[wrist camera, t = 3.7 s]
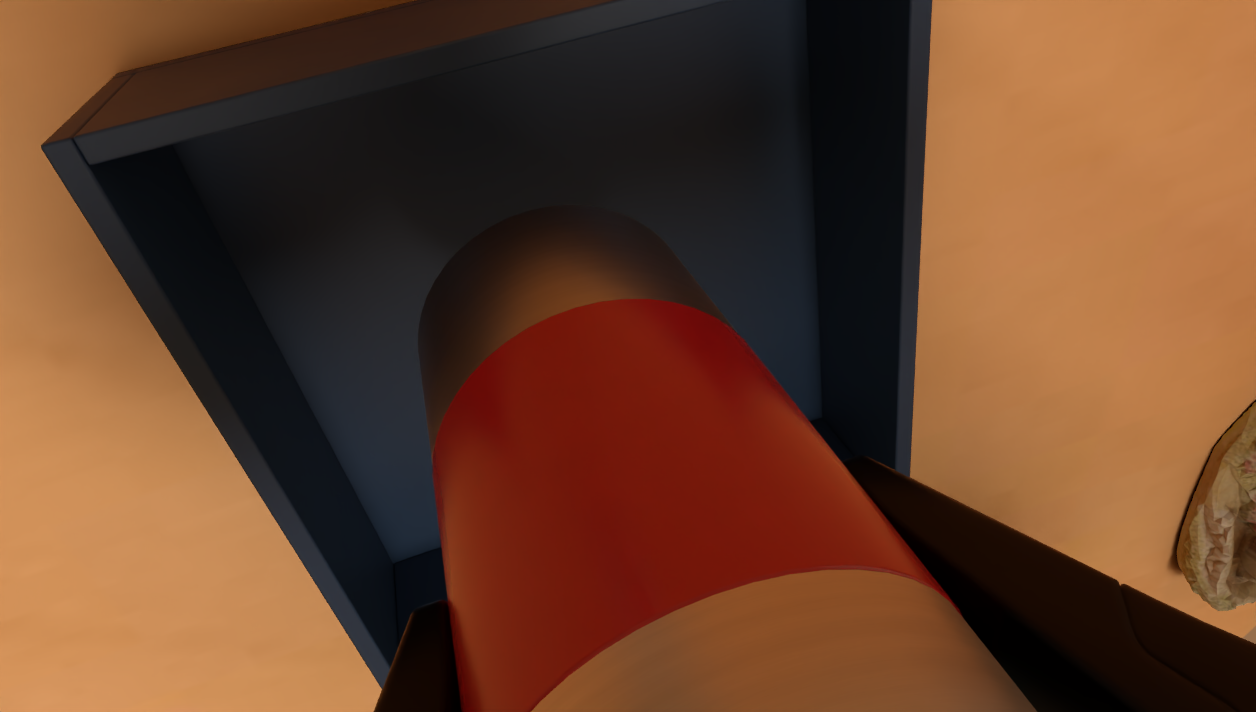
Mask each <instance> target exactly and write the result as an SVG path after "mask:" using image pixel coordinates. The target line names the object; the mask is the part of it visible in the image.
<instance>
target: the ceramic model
mask: <svg viewBox="0 0 1256 712" xmlns="http://www.w3.org/2000/svg"><path fill="white" fill-rule="evenodd" d="M1177 561H1178V565H1179V567H1180V569H1181V570H1182V572H1183V574H1184V576H1185V578H1186V580H1187V582H1188V583H1189V584H1190V586H1191V588H1192V591H1193V592H1195V593H1197V594H1199V595H1200V596H1201V598H1202V599H1203V600H1204V601H1206V602H1208V603H1209V604H1210V605H1211V607H1213V608H1214V609H1216V610H1218V611H1228V610H1232V609H1236V606H1240V605H1245V604H1247V603H1254V602H1255V601H1256V402H1255V403H1254V404H1252V407H1250V408H1249V409H1248V411H1247V412H1245V413H1244V414H1243V416H1242V417H1241V418H1239V419H1238V420H1237V421H1236V422H1235V423H1234V424H1233V427H1232V428H1230V429H1229V430H1228V431H1227V432H1226V433H1225V434H1224V435H1223V436H1222V439H1221V440H1220V441H1219V442H1218V443H1217V444H1216V446H1215V447H1214V449H1213V452H1212V454H1211V456H1210V459H1209V461H1208V463H1207V465H1206V467H1205V470H1204V472H1203V476H1202V477H1201V479H1200V482H1199V484H1198V487H1197V489H1196V491H1195V493H1194V496H1193V499H1192V502H1191V503H1190V507H1189V509H1188V512H1187V515H1186V519H1185V521H1184V525H1183V526H1182V530H1181V534H1180V538H1179V543H1178V547H1177Z"/></svg>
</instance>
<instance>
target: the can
mask: <svg viewBox="0 0 1256 712" xmlns="http://www.w3.org/2000/svg"><path fill="white" fill-rule="evenodd" d="M418 354H419V362H420V370H421V378H422V386H423V394H424V402H425V410H426V418H427V425H428V433H429V441H430V449H431V457H432V465H433V467H432V477H433V485H434V493H435V501H436V509H437V517H438V525H439V533H440V541H441V549H442V557H443V565H444V573H445V581H446V589H447V598H448V606H449V614H450V622H451V630H452V638H453V646H454V654H455V662H456V670H457V678H458V686H459V694H460V702H461V710H462V712H1037V711H1036V710H1035V708H1034V707H1033V706H1032V705H1031V703H1030V702H1029V701H1028V699H1027V698H1026V697H1025V696H1024V694H1023V693H1022V692H1021V691H1020V689H1019V688H1018V687H1017V686H1016V684H1015V683H1014V682H1013V681H1012V679H1011V678H1010V677H1009V675H1008V674H1007V673H1006V672H1005V670H1004V669H1003V668H1002V667H1001V665H1000V664H999V663H998V662H997V660H996V659H995V658H994V657H993V655H992V654H991V653H990V651H989V650H988V649H987V648H986V646H985V645H984V644H983V643H982V641H981V640H980V639H979V638H978V636H977V635H976V634H975V633H974V631H973V630H972V629H971V627H970V626H969V625H968V624H967V622H966V621H965V620H964V619H963V617H962V614H961V612H960V610H959V609H958V608H957V606H956V605H955V604H954V603H953V601H952V600H951V599H950V598H949V596H948V595H947V594H946V593H945V591H944V590H943V589H942V588H941V586H940V585H939V584H938V583H937V581H936V580H935V579H934V578H933V576H932V575H931V574H930V573H929V571H928V570H927V569H926V567H925V566H924V565H923V564H922V562H921V561H920V560H919V559H918V557H917V556H916V555H915V554H914V552H913V551H912V550H911V549H910V547H909V546H908V545H907V544H906V542H905V541H904V540H903V539H902V537H901V536H900V535H899V534H898V532H897V531H896V530H895V528H894V527H893V526H892V525H891V523H890V522H889V521H888V520H887V518H886V517H885V516H884V515H883V513H882V512H881V511H880V510H879V508H878V507H877V506H876V505H875V503H874V502H873V501H872V500H871V498H870V497H869V496H868V495H867V493H866V492H865V491H864V489H863V488H862V487H861V486H860V484H859V483H858V482H857V481H856V479H855V478H854V477H853V476H852V474H851V473H850V472H849V471H848V469H847V468H846V467H845V466H844V464H843V463H842V462H841V461H840V459H839V458H838V457H837V456H836V454H835V453H834V452H833V451H832V449H831V448H830V447H829V445H828V444H827V443H826V442H825V440H824V439H823V438H822V437H821V435H820V434H819V433H818V432H817V430H816V429H815V428H814V427H813V425H812V424H811V423H810V422H809V420H808V419H807V418H806V417H805V415H804V414H803V413H802V412H801V410H800V409H799V408H798V406H797V405H796V404H795V403H794V401H793V400H792V399H791V398H790V396H789V395H788V394H787V393H786V391H785V390H784V389H783V388H782V386H781V385H780V384H779V383H778V381H777V380H776V379H775V378H774V376H773V375H772V374H771V373H770V371H769V370H768V369H767V367H766V366H765V365H764V364H763V362H762V361H761V360H760V359H759V357H758V356H757V355H756V354H755V352H754V351H753V350H752V349H751V347H750V346H749V345H748V344H747V342H746V341H745V340H744V339H743V338H742V337H741V336H740V335H739V334H738V333H737V332H736V331H735V329H734V328H733V327H732V326H731V324H730V323H729V322H728V320H727V319H726V318H725V317H724V315H723V314H722V313H721V312H720V310H719V309H718V308H717V307H716V305H715V304H714V303H713V302H712V300H711V299H710V298H709V296H708V295H707V294H706V293H705V291H704V290H703V289H702V288H701V286H700V285H699V284H698V283H697V281H696V280H695V279H694V278H693V276H692V275H691V274H690V272H689V271H688V270H687V269H686V267H685V266H684V265H683V264H682V262H681V261H680V260H679V259H678V257H677V256H676V255H675V254H674V252H673V251H672V250H671V249H670V247H669V246H668V245H667V244H666V242H665V241H663V240H662V239H661V238H660V237H659V236H658V235H657V234H656V233H655V232H654V231H652V230H651V229H649V228H648V227H646V226H645V225H643V224H642V223H640V222H638V221H636V220H634V219H632V218H630V217H628V216H626V215H624V214H621V213H618V212H615V211H611V210H608V209H604V208H599V207H593V206H586V205H560V206H548V207H543V208H539V209H534V210H529V211H526V212H523V213H520V214H517V215H515V216H512V217H509V218H507V219H505V220H503V221H501V222H499V223H497V224H495V225H493V226H491V227H489V228H488V229H486V230H485V231H483V232H482V233H480V234H479V235H477V236H475V237H474V238H473V239H472V240H470V241H469V242H468V243H467V244H466V245H465V246H463V247H462V248H461V249H460V250H459V251H458V252H457V253H456V254H455V255H454V256H453V257H452V258H451V260H450V261H449V262H448V263H447V264H446V265H445V267H444V268H443V269H442V271H441V272H440V274H439V275H438V277H437V278H436V280H435V281H434V283H433V285H432V287H431V289H430V291H429V293H428V295H427V297H426V300H425V303H424V306H423V309H422V312H421V316H420V322H419V328H418Z"/></svg>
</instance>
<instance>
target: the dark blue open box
mask: <svg viewBox="0 0 1256 712" xmlns="http://www.w3.org/2000/svg"><path fill="white" fill-rule="evenodd" d="M931 12H932V0H417V1H413V2H409V3H404V4H400V5H396V6H392V7H388V8H384V9H380V10H376V11H372V12H368V13H363V14H359V15H355V16H351V17H347V18H343V19H339V20H335V21H331V22H327V23H322V24H318V25H314V26H310V27H306V28H302V29H298V30H294V31H290V32H285V33H281V34H277V35H273V36H269V37H265V38H261V39H257V40H253V41H249V42H244V43H240V44H236V45H232V46H228V47H224V48H220V49H216V50H212V51H208V52H203V53H199V54H195V55H191V56H187V57H183V58H179V59H175V60H171V61H166V62H162V63H158V64H154V65H150V66H146V67H142V68H138V69H134V70H130V71H125V72H121V73H117V74H116V75H115V76H114V77H113V78H112V79H111V80H110V81H109V82H108V83H107V84H106V85H105V86H103V87H102V88H101V89H100V90H99V91H98V92H97V93H96V94H95V95H94V96H93V97H92V98H91V99H90V100H89V101H88V102H87V103H85V104H84V105H83V106H82V107H81V108H80V109H79V110H78V111H77V112H76V113H75V114H74V115H73V116H72V117H71V118H70V119H69V120H67V121H66V122H65V123H64V124H63V125H62V126H61V127H60V128H59V129H58V130H57V131H56V132H55V133H54V134H53V135H52V136H51V137H49V138H48V139H47V140H46V141H45V142H44V143H43V144H42V145H41V148H42V150H43V152H44V153H45V155H46V156H47V158H48V160H49V161H50V163H51V164H52V166H53V168H54V169H55V171H56V172H57V174H58V176H59V177H60V179H61V180H62V182H63V183H64V185H65V187H66V188H67V190H68V191H69V193H70V195H71V196H72V198H73V199H74V201H75V203H76V204H77V206H78V207H79V209H80V210H81V212H82V214H83V215H84V217H85V218H86V220H87V222H88V223H89V225H90V226H91V228H92V229H93V231H94V233H95V234H96V236H97V237H98V239H99V241H100V242H101V244H102V245H103V247H104V249H105V250H106V252H107V253H108V255H109V256H110V258H111V260H112V261H113V263H114V264H115V266H116V268H117V269H118V271H119V272H120V274H121V276H122V277H123V279H124V280H125V282H126V283H127V285H128V287H129V288H130V290H131V291H132V293H133V295H134V296H135V298H136V299H137V301H138V303H139V304H140V306H141V307H142V309H143V310H144V312H145V314H146V315H147V317H148V318H149V320H150V322H151V323H152V325H153V326H154V328H155V330H156V331H157V333H158V334H159V336H160V337H161V339H162V341H163V342H164V344H165V345H166V347H167V349H168V350H169V352H170V353H171V355H172V357H173V358H174V360H175V361H176V363H177V364H178V366H179V368H180V369H181V371H182V372H183V374H184V376H185V377H186V379H187V380H188V382H189V384H190V385H191V387H192V388H193V390H194V391H195V393H196V395H197V396H198V398H199V399H200V401H201V403H202V404H203V406H204V407H205V409H206V410H207V412H208V414H209V415H210V417H211V418H212V420H213V422H214V423H215V425H216V426H217V428H218V430H219V431H220V433H221V434H222V436H223V437H224V439H225V441H226V442H227V444H228V445H229V447H230V449H231V450H232V452H233V453H234V455H235V457H236V458H237V460H238V461H239V463H240V464H241V466H242V468H243V469H244V471H245V472H246V474H247V476H248V477H249V479H250V480H251V482H252V484H253V485H254V487H255V488H256V490H257V491H258V493H259V495H260V496H261V498H262V499H263V501H264V503H265V504H266V506H267V507H268V509H269V511H270V512H271V514H272V515H273V517H274V518H275V520H276V522H277V523H278V525H279V526H280V528H281V530H282V531H283V533H284V534H285V536H286V538H287V539H288V541H289V542H290V544H291V545H292V547H293V549H294V550H295V552H296V553H297V555H298V557H299V558H300V560H301V561H302V563H303V565H304V566H305V568H306V569H307V571H308V572H309V574H310V576H311V577H312V579H313V580H314V582H315V584H316V585H317V587H318V588H319V590H320V592H321V593H322V595H323V596H324V598H325V599H326V601H327V603H328V604H329V606H330V607H331V609H332V611H333V612H334V614H335V615H336V617H337V618H338V620H339V622H340V623H341V625H342V626H343V628H344V630H345V631H346V633H347V634H348V636H349V638H350V639H351V641H352V642H353V644H354V645H355V647H356V649H357V650H358V652H359V653H360V655H361V657H362V658H363V660H364V661H365V663H366V665H367V666H368V668H369V669H370V671H371V672H372V674H373V676H374V677H375V679H376V680H377V682H378V684H379V685H380V687H381V688H382V689H383V686H384V684H385V681H386V678H387V676H388V673H389V670H390V668H391V665H392V663H393V660H394V657H395V655H396V652H397V649H398V647H399V644H400V642H401V639H402V636H403V634H404V631H405V629H406V626H407V623H408V621H409V618H410V616H411V613H412V612H413V611H414V610H415V609H416V608H417V607H420V606H423V605H425V604H428V603H431V602H434V601H437V600H442V599H443V600H446V601H447V602H448V598H447V589H446V581H445V573H444V565H443V557H442V549H441V541H440V533H439V525H438V517H437V509H436V501H435V493H434V485H433V477H432V467H433V465H432V457H431V449H430V441H429V433H428V425H427V418H426V410H425V402H424V394H423V386H422V378H421V370H420V362H419V354H418V328H419V322H420V316H421V312H422V309H423V306H424V303H425V300H426V297H427V295H428V293H429V291H430V289H431V287H432V285H433V283H434V281H435V280H436V278H437V277H438V275H439V274H440V272H441V271H442V269H443V268H444V267H445V265H446V264H447V263H448V262H449V261H450V260H451V258H452V257H453V256H454V255H455V254H456V253H457V252H458V251H459V250H460V249H461V248H462V247H463V246H465V245H466V244H467V243H468V242H469V241H470V240H472V239H473V238H474V237H475V236H477V235H479V234H480V233H482V232H483V231H485V230H486V229H488V228H489V227H491V226H493V225H495V224H497V223H499V222H501V221H503V220H505V219H507V218H509V217H512V216H515V215H517V214H520V213H523V212H526V211H529V210H534V209H539V208H543V207H548V206H560V205H586V206H593V207H599V208H604V209H608V210H611V211H615V212H618V213H621V214H624V215H626V216H628V217H630V218H632V219H634V220H636V221H638V222H640V223H642V224H643V225H645V226H646V227H648V228H649V229H651V230H652V231H654V232H655V233H656V234H657V235H658V236H659V237H660V238H661V239H662V240H663V241H665V242H666V244H667V245H668V246H669V247H670V249H671V250H672V251H673V252H674V254H675V255H676V256H677V257H678V259H679V260H680V261H681V262H682V264H683V265H684V266H685V267H686V269H687V270H688V271H689V272H690V274H691V275H692V276H693V278H694V279H695V280H696V281H697V283H698V284H699V285H700V286H701V288H702V289H703V290H704V291H705V293H706V294H707V295H708V296H709V298H710V299H711V300H712V302H713V303H714V304H715V305H716V307H717V308H718V309H719V310H720V312H721V313H722V314H723V315H724V317H725V318H726V319H727V320H728V322H729V323H730V324H731V326H732V327H733V328H734V329H735V331H736V332H737V333H738V334H739V335H740V336H741V337H742V338H743V339H744V340H745V341H746V342H747V344H748V345H749V346H750V347H751V349H752V350H753V351H754V352H755V354H756V355H757V356H758V357H759V359H760V360H761V361H762V362H763V364H764V365H765V366H766V367H767V369H768V370H769V371H770V373H771V374H772V375H773V376H774V378H775V379H776V380H777V381H778V383H779V384H780V385H781V386H782V388H783V389H784V390H785V391H786V393H787V394H788V395H789V396H790V398H791V399H792V400H793V401H794V403H795V404H796V405H797V406H798V408H799V409H800V410H801V412H802V413H803V414H804V415H805V417H806V418H807V419H808V420H809V422H810V423H811V424H812V425H813V427H814V428H815V429H816V430H817V432H818V433H819V434H820V435H821V437H822V438H823V439H824V440H825V442H826V443H827V444H828V445H829V447H830V448H831V449H832V451H833V452H834V453H835V454H836V456H837V457H838V458H839V459H840V461H843V460H846V459H848V458H851V457H854V456H857V455H864V456H867V457H869V458H872V459H874V460H876V461H878V462H880V463H882V464H884V465H886V466H888V467H890V468H892V469H894V470H896V471H898V472H900V473H902V474H904V475H906V476H908V477H910V462H911V441H912V419H913V398H914V376H915V355H916V333H917V312H918V291H919V269H920V248H921V226H922V205H923V184H924V162H925V141H926V119H927V98H928V76H929V55H930V34H931Z"/></svg>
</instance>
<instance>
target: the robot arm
mask: <svg viewBox="0 0 1256 712" xmlns="http://www.w3.org/2000/svg"><path fill="white" fill-rule="evenodd" d="M841 462H842V463H843V464H844V466H845V467H846V468H847V469H848V471H849V472H850V473H851V474H852V476H853V477H854V478H855V479H856V481H857V482H858V483H859V484H860V486H861V487H862V488H863V489H864V491H865V492H866V493H867V495H868V496H869V497H870V498H871V500H872V501H873V502H874V503H875V505H876V506H877V507H878V508H879V510H880V511H881V512H882V513H883V515H884V516H885V517H886V518H887V520H888V521H889V522H890V523H891V525H892V526H893V527H894V528H895V530H896V531H897V532H898V534H899V535H900V536H901V537H902V539H903V540H904V541H905V542H906V544H907V545H908V546H909V547H910V549H911V550H912V551H913V552H914V554H915V555H916V556H917V557H918V559H919V560H920V561H921V562H922V564H923V565H924V566H925V567H926V569H927V570H928V571H929V573H930V574H931V575H932V576H933V578H934V579H935V580H936V581H937V583H938V584H939V585H940V586H941V588H942V589H943V590H944V591H945V593H946V594H947V595H948V596H949V598H950V599H951V600H952V601H953V603H954V604H955V605H956V606H957V608H958V609H959V610H960V612H961V614H962V617H963V619H964V620H965V621H966V622H967V624H968V625H969V626H970V627H971V629H972V630H973V631H974V633H975V634H976V635H977V636H978V638H979V639H980V640H981V641H982V643H983V644H984V645H985V646H986V648H987V649H988V650H989V651H990V653H991V654H992V655H993V657H994V658H995V659H996V660H997V662H998V663H999V664H1000V665H1001V667H1002V668H1003V669H1004V670H1005V672H1006V673H1007V674H1008V675H1009V677H1010V678H1011V679H1012V681H1013V682H1014V683H1015V684H1016V686H1017V687H1018V688H1019V689H1020V691H1021V692H1022V693H1023V694H1024V696H1025V697H1026V698H1027V699H1028V701H1029V702H1030V703H1031V705H1032V706H1033V707H1034V708H1035V710H1036V711H1037V712H1256V644H1254V643H1252V642H1250V641H1247V640H1245V639H1243V638H1240V637H1238V636H1236V635H1233V634H1231V633H1229V632H1226V631H1224V630H1222V629H1219V628H1217V627H1215V626H1212V625H1210V624H1208V623H1205V622H1203V621H1201V620H1199V619H1197V618H1195V617H1192V616H1190V615H1188V614H1186V613H1184V612H1182V611H1180V610H1178V609H1175V608H1173V607H1171V606H1169V605H1167V604H1165V603H1163V602H1161V601H1158V600H1156V599H1154V598H1152V597H1150V596H1148V595H1146V594H1144V593H1142V592H1140V591H1138V590H1136V589H1134V588H1132V587H1130V586H1128V585H1126V584H1122V585H1119V582H1118V581H1117V580H1115V579H1113V578H1111V577H1109V576H1107V575H1105V574H1103V573H1101V572H1099V571H1097V570H1095V569H1093V568H1091V567H1089V566H1087V565H1085V564H1083V563H1081V562H1079V561H1077V560H1075V559H1073V558H1071V557H1069V556H1067V555H1065V554H1063V553H1061V552H1059V551H1057V550H1055V549H1053V548H1051V547H1049V546H1047V545H1045V544H1043V543H1041V542H1039V541H1037V540H1035V539H1033V538H1031V537H1029V536H1027V535H1025V534H1023V533H1021V532H1019V531H1017V530H1015V529H1013V528H1011V527H1009V526H1007V525H1005V524H1003V523H1001V522H999V521H997V520H995V519H992V518H990V517H988V516H986V515H984V514H982V513H980V512H978V511H976V510H974V509H972V508H970V507H968V506H966V505H964V504H962V503H960V502H958V501H956V500H954V499H952V498H950V497H948V496H946V495H944V494H942V493H940V492H938V491H936V490H934V489H932V488H930V487H928V486H926V485H924V484H922V483H920V482H918V481H916V480H914V479H912V478H910V477H908V476H906V475H904V474H902V473H900V472H898V471H896V470H894V469H892V468H890V467H888V466H886V465H884V464H882V463H880V462H878V461H876V460H874V459H872V458H869V457H867V456H864V455H857V456H854V457H851V458H848V459H846V460H843V461H841ZM374 712H462V710H461V702H460V694H459V686H458V678H457V670H456V662H455V654H454V646H453V638H452V630H451V622H450V614H449V606H448V602H447V601H446V600H443V599H442V600H437V601H434V602H431V603H428V604H425V605H423V606H420V607H417V608H416V609H415V610H414V611H413V612H412V613H411V616H410V618H409V621H408V623H407V626H406V629H405V631H404V634H403V636H402V639H401V642H400V644H399V647H398V649H397V652H396V655H395V657H394V660H393V663H392V665H391V668H390V670H389V673H388V676H387V678H386V681H385V684H384V686H383V689H382V691H381V694H380V697H379V699H378V702H377V704H376V707H375V710H374Z"/></svg>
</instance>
